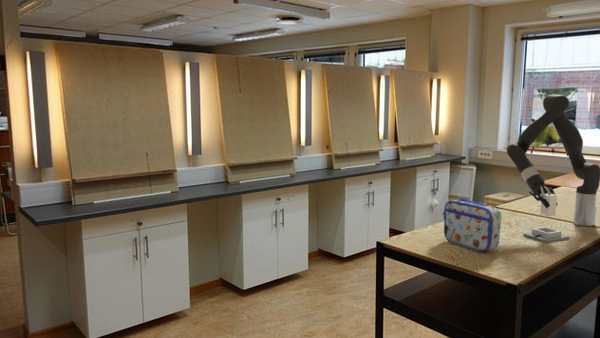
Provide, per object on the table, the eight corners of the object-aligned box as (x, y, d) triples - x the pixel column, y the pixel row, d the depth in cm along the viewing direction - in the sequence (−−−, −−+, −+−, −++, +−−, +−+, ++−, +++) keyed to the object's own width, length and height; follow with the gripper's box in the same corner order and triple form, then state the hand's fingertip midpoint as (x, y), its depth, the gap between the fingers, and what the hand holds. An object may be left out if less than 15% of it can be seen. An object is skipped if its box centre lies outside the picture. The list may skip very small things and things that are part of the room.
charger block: (546, 213, 226) (548, 190, 225) (555, 215, 222) (557, 192, 220) (540, 214, 224) (542, 191, 223) (548, 216, 220) (550, 193, 219)
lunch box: (437, 240, 222) (439, 195, 218) (452, 236, 227) (454, 193, 224) (487, 256, 199) (490, 206, 195) (502, 252, 204) (505, 203, 201)
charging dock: (546, 231, 234) (546, 224, 233) (569, 238, 222) (570, 231, 222) (523, 235, 228) (523, 228, 227) (546, 243, 216) (546, 235, 215)
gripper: (527, 174, 224) (547, 203, 215) (547, 172, 230) (568, 200, 221) (517, 183, 230) (536, 212, 221) (537, 181, 236) (557, 209, 226)
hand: (552, 206), depth 221 cm, fingers closed on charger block, 4 cm apart
